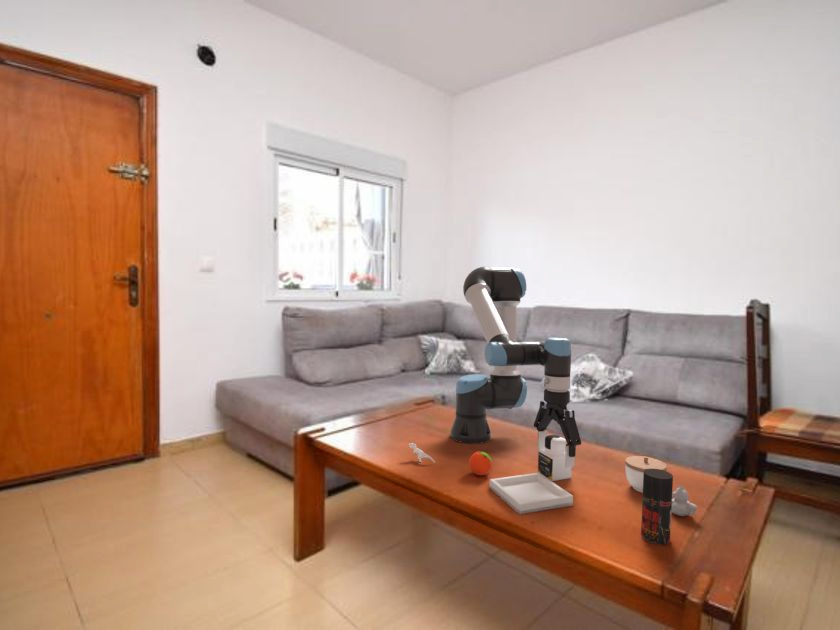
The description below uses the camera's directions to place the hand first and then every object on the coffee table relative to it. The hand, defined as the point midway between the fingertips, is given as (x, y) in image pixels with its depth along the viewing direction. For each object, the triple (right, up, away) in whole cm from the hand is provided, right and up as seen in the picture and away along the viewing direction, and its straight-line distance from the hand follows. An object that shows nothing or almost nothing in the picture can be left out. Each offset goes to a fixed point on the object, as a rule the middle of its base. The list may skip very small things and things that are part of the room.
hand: (555, 459), depth 140 cm
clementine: (-22, -5, 0) cm, 23 cm away
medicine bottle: (0, -5, +1) cm, 5 cm away
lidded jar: (+23, -6, -8) cm, 25 cm away
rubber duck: (+25, -7, -23) cm, 35 cm away
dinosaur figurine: (-41, -5, +10) cm, 43 cm away
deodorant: (+13, -8, -34) cm, 37 cm away
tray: (-11, -6, -14) cm, 18 cm away
